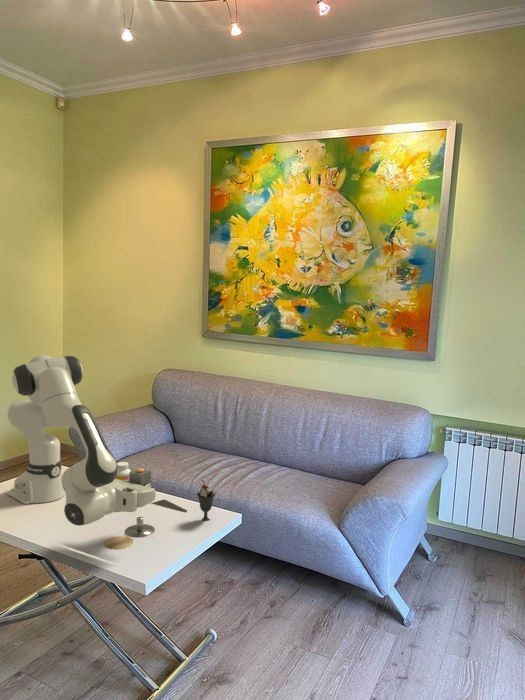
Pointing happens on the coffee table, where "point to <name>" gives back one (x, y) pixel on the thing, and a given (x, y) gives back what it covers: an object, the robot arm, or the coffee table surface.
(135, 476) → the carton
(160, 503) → the smartphone
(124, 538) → the coaster
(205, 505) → the sundae
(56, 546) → the coffee table surface
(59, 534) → the coffee table surface
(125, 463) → the supplement bottle
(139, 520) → the grey knobbed dome
